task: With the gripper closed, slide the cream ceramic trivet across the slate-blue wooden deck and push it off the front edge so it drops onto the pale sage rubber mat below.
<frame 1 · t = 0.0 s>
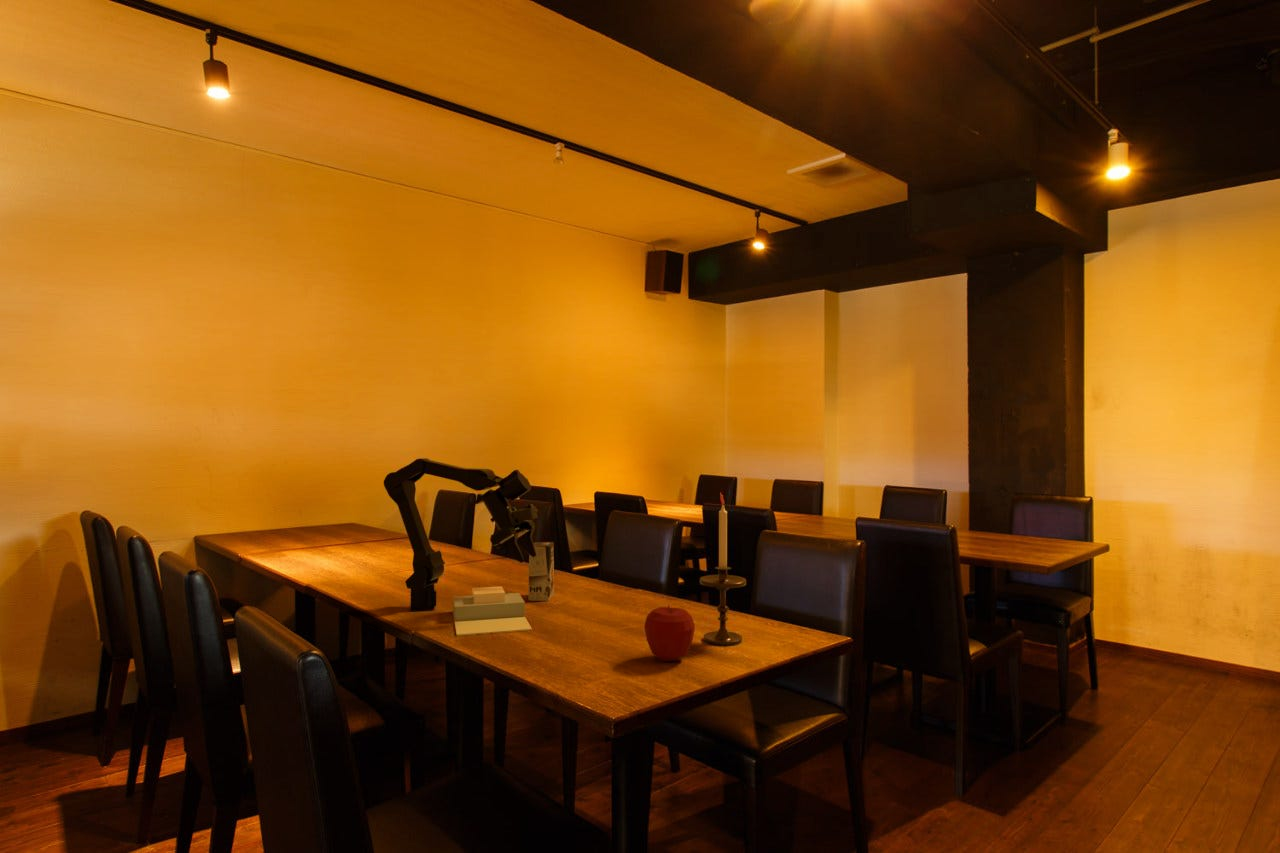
hand: (529, 559, 187), 15 cm above the table, tool tilted 35°, fingers open, 9 cm apart
mat: (492, 626, 174), on the table
deck: (488, 614, 187), on the table
trivet: (488, 599, 187), point 4 cm above the table, touching deck
candlestick: (722, 641, 163), on the table
apple: (669, 660, 149), on the table
coffee box: (541, 598, 207), on the table
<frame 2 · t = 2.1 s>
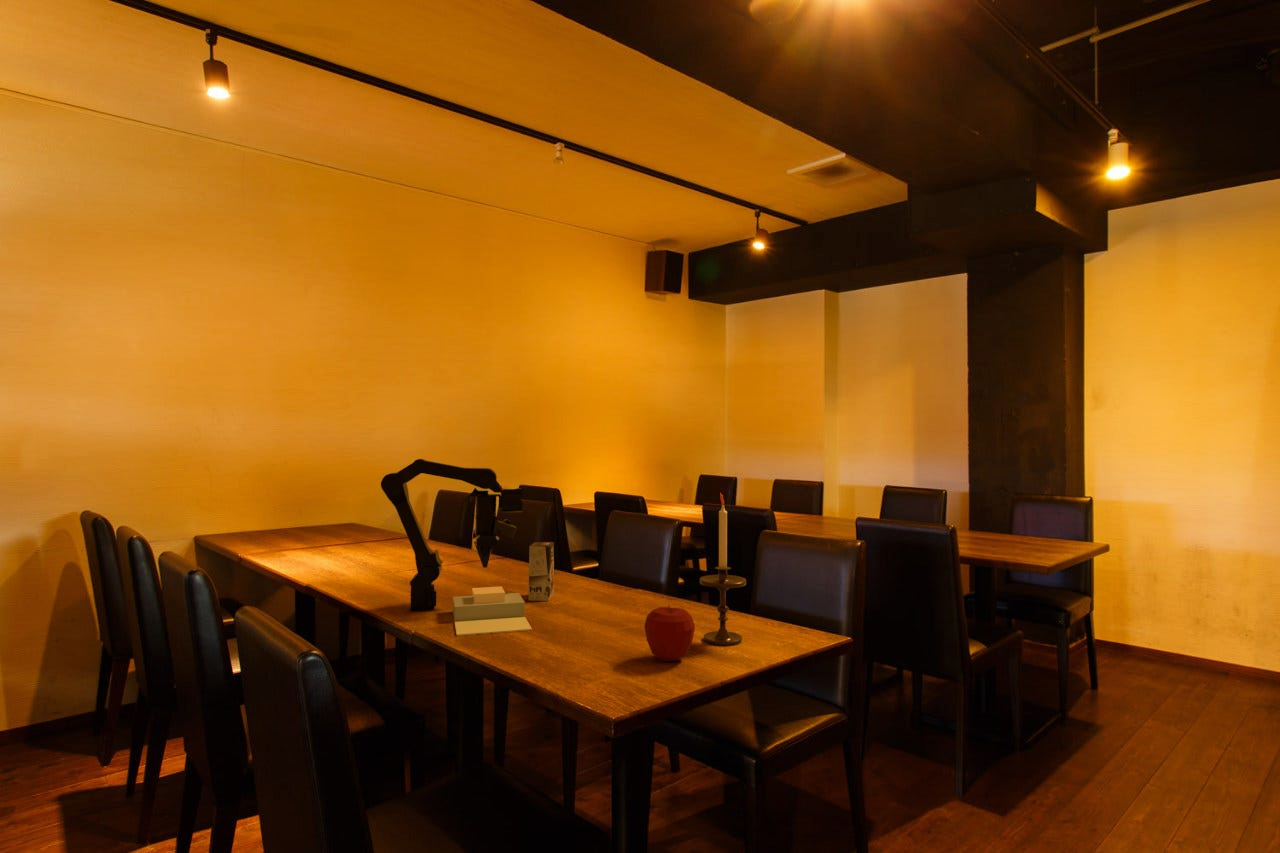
hand: (485, 567, 196), 11 cm above the table, tool pointing down, fingers closed
nothing on the table moved.
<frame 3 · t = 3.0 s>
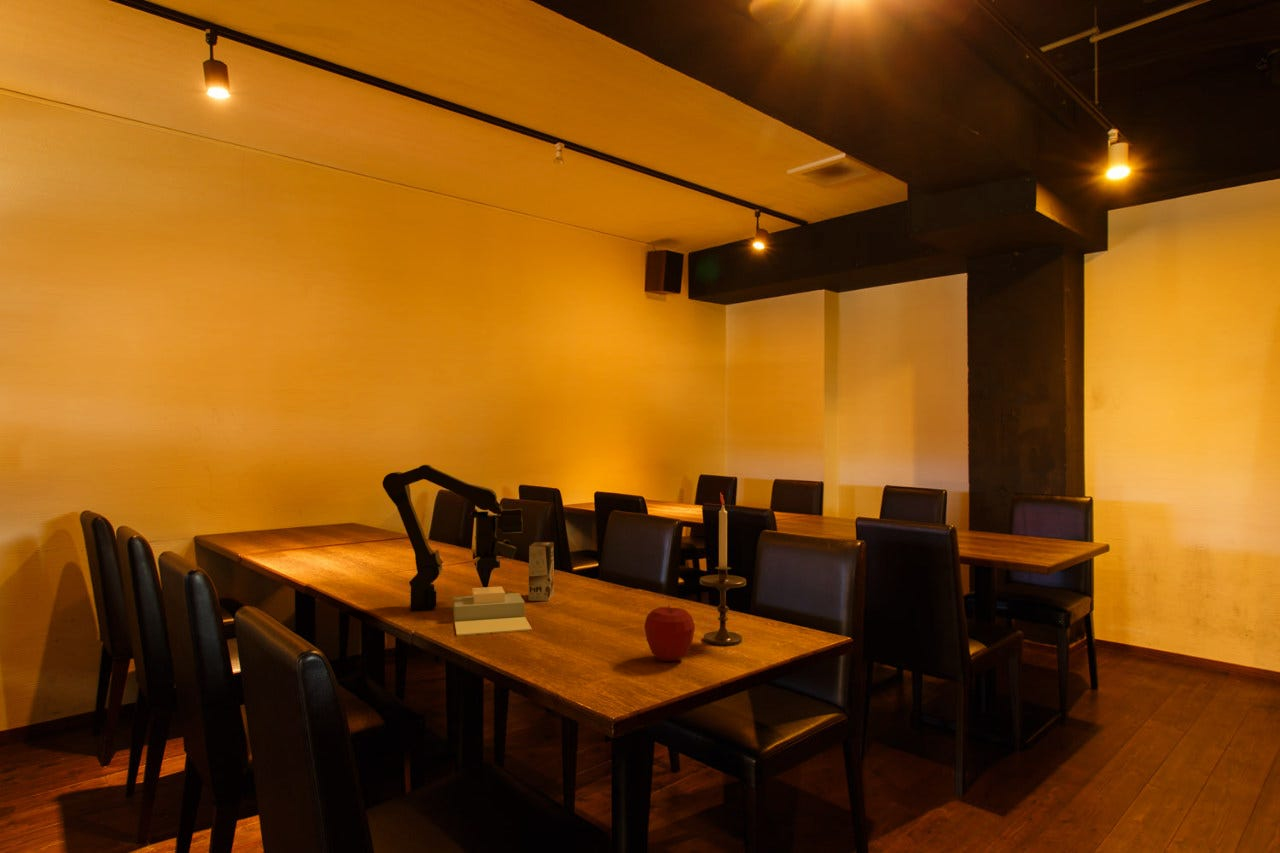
hand: (485, 588, 196), 5 cm above the table, tool pointing down, fingers closed
nothing on the table moved.
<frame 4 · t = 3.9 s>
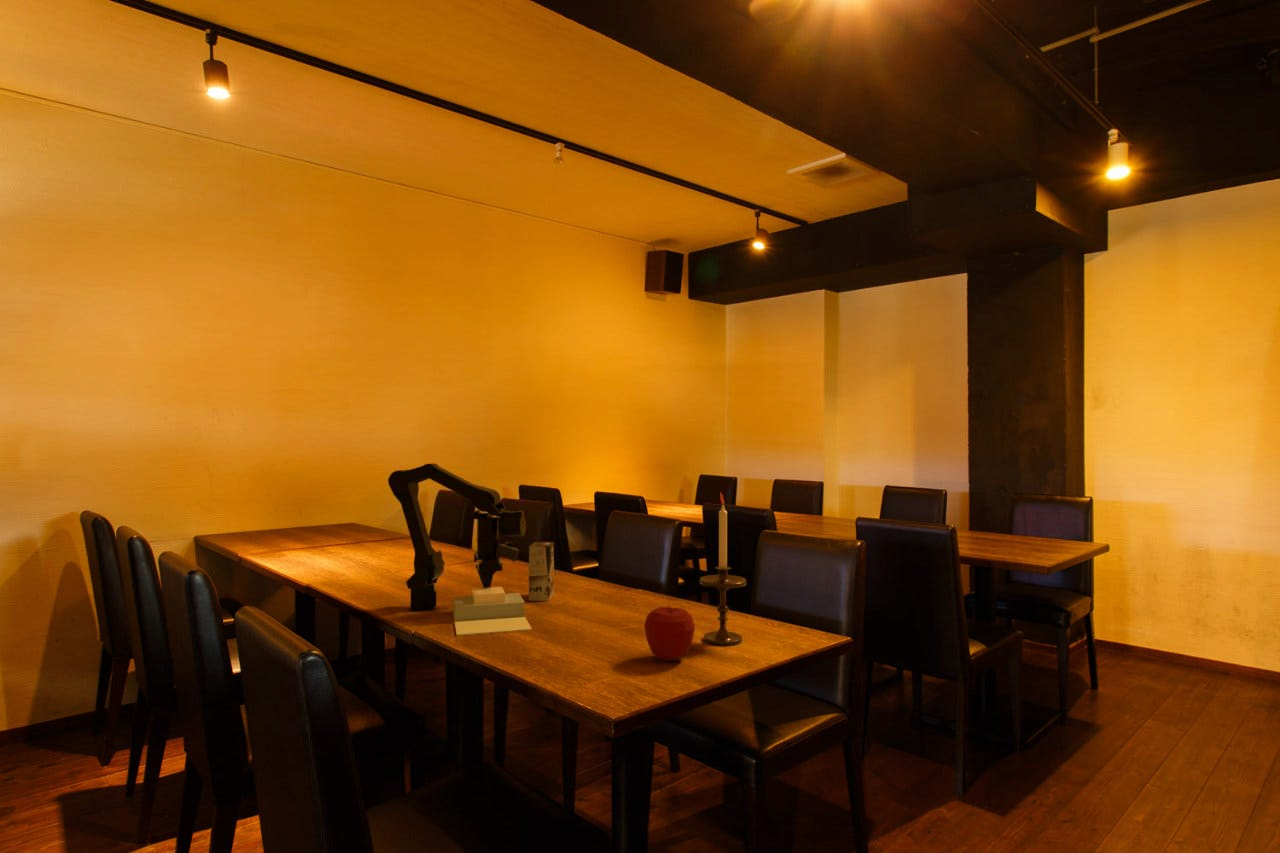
hand: (487, 592, 191), 5 cm above the table, tool pointing down, fingers closed
trivet: (488, 600, 186), point 4 cm above the table, touching deck, gripper
everything else where it was.
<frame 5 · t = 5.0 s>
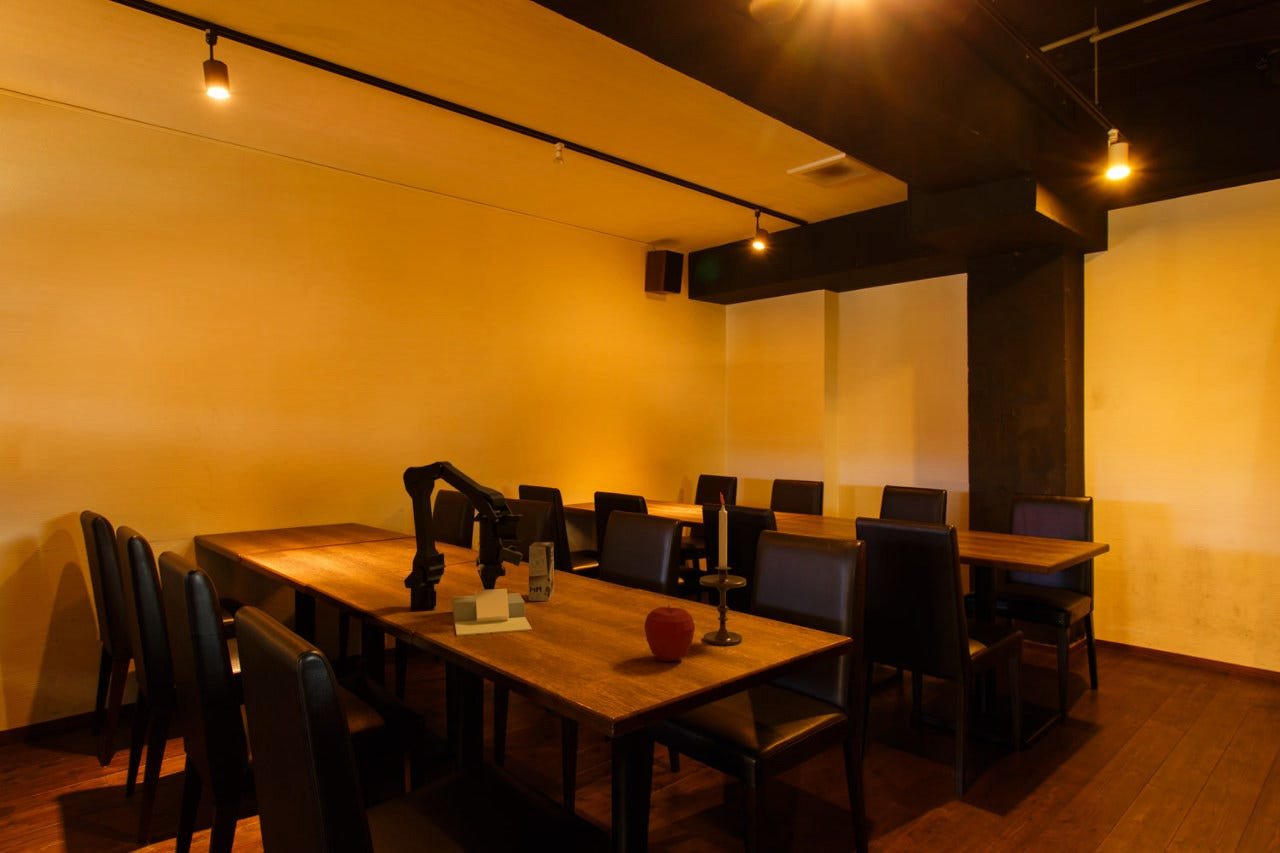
hand: (489, 597, 184), 5 cm above the table, tool pointing down, fingers closed
trivet: (491, 607, 180), point 3 cm above the table, tilted 46°, touching gripper
everything else where it was.
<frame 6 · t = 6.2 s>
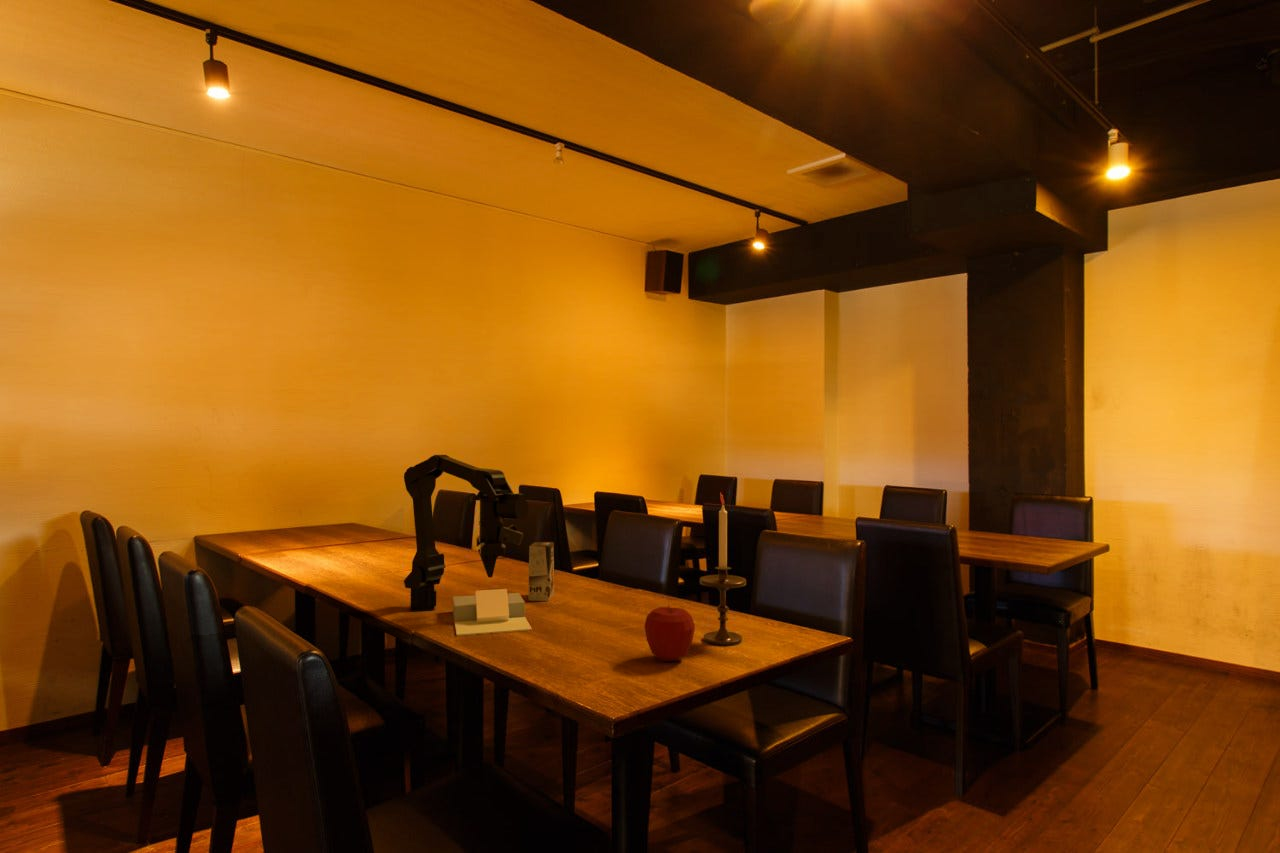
hand: (490, 577, 182), 11 cm above the table, tool pointing down, fingers closed
trivet: (491, 608, 180), point 3 cm above the table, tilted 45°, touching deck, mat
everything else where it was.
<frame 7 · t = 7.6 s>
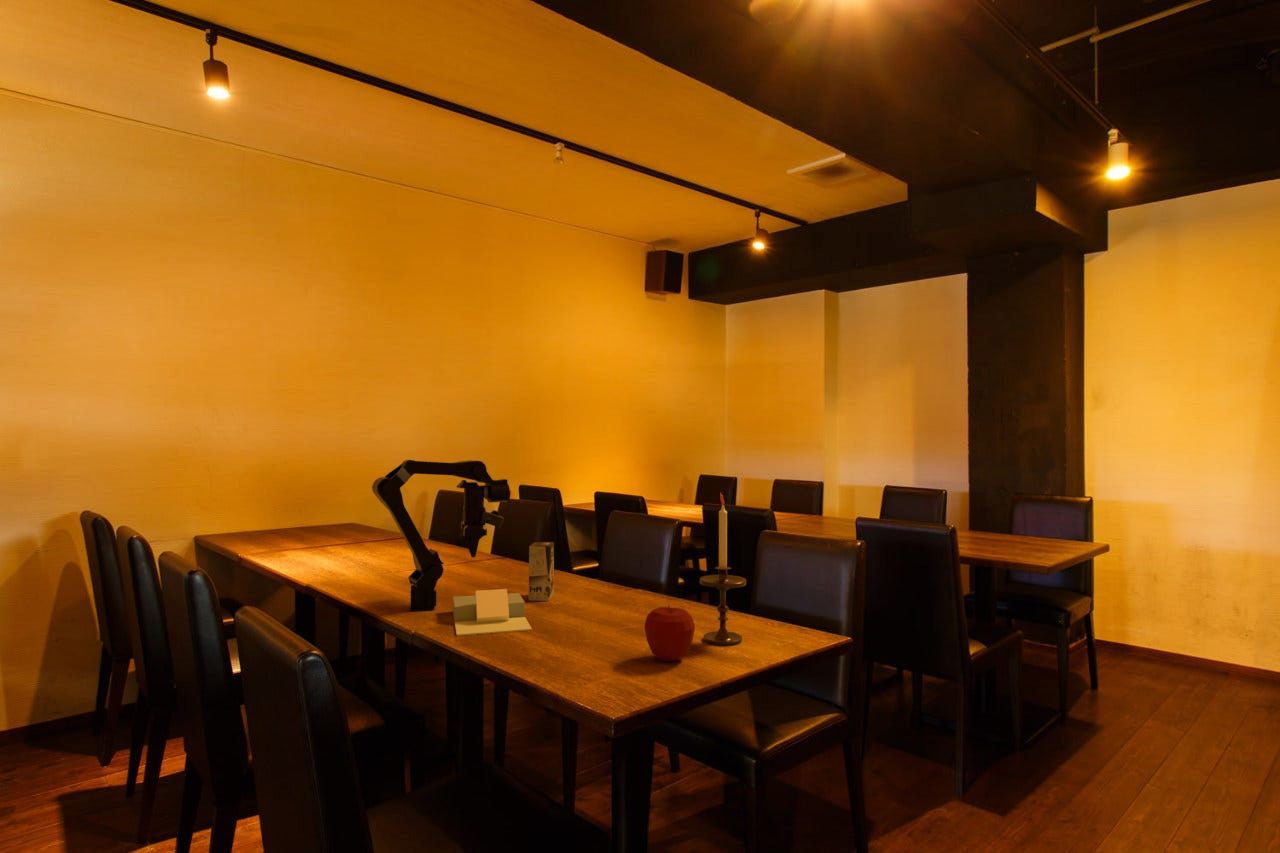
hand: (473, 557, 201), 13 cm above the table, tool pointing down, fingers closed
nothing on the table moved.
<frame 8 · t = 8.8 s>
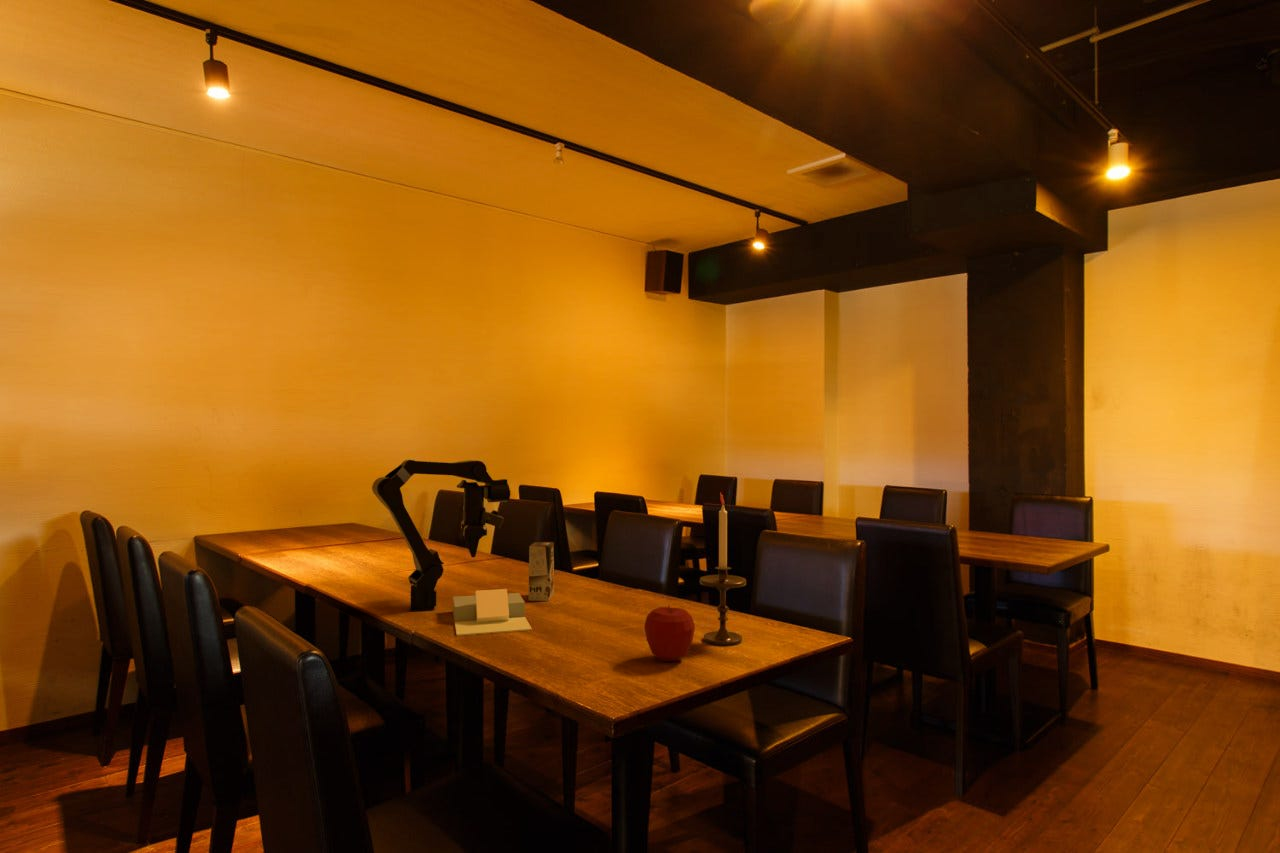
hand: (473, 557, 201), 13 cm above the table, tool pointing down, fingers closed
nothing on the table moved.
at the end: trivet inside the target area on the mat (6.2 cm from its centre), point 3.2 cm above the mat's base; trivet point 3.2 cm above the table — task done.
